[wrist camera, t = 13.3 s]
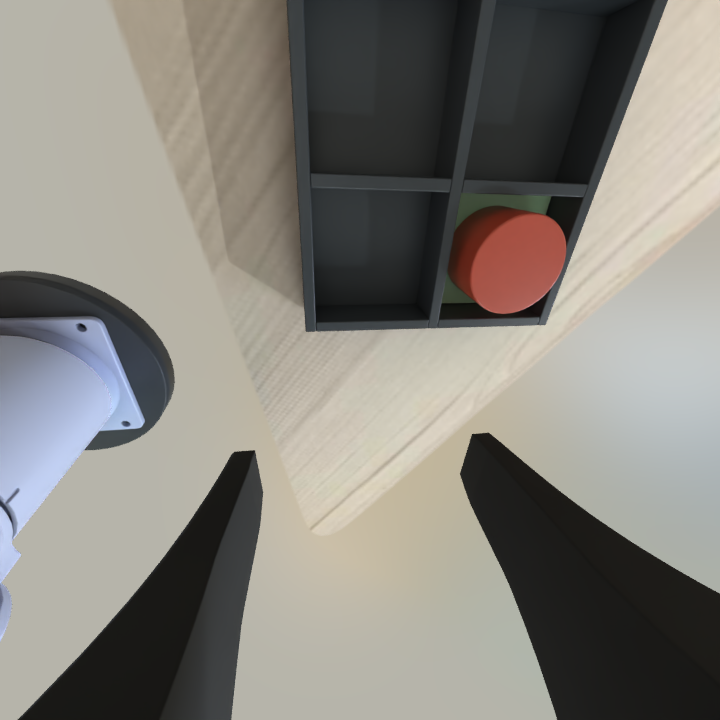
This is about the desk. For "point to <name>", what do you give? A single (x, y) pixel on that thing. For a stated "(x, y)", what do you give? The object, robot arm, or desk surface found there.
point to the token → (506, 257)
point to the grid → (447, 140)
